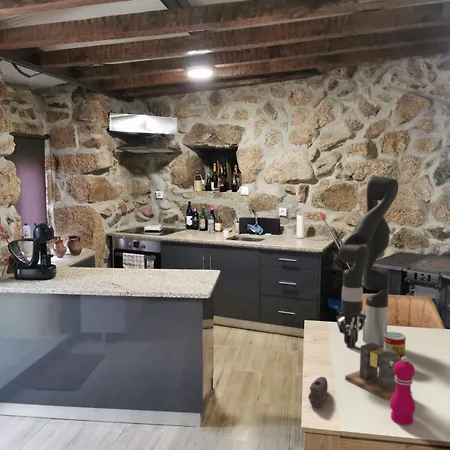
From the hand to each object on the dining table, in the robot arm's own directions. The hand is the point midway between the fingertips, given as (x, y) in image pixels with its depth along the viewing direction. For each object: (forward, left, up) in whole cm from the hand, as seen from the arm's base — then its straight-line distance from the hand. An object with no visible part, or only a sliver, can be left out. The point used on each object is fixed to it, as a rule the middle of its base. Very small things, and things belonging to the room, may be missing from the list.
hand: (350, 342), depth 170 cm
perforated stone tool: (+8, -24, -12) cm, 28 cm away
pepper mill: (+31, -12, -12) cm, 35 cm away
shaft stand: (+12, 0, -12) cm, 17 cm away
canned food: (+5, +19, -12) cm, 23 cm away
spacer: (+12, 0, -4) cm, 13 cm away
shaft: (+8, 0, -3) cm, 9 cm away
